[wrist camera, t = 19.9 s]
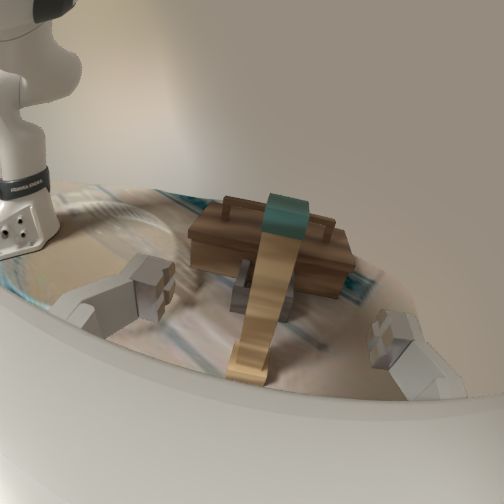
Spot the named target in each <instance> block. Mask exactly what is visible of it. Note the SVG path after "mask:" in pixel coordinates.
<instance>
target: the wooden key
mask: <svg viewBox="0 0 504 504" xmlns="http://www.w3.org/2000/svg"><path fill="white" fill-rule="evenodd" d="M309 217H310V214H309V203H308V201H303V200H299V199H295V198H290V197H286V196H282V195H277V194H272V193H270V195H269V198H268V201H267V204H266V207H265V212H264V217H263V222H262V228H261V231H262V235H261V240H260V245H259V250H258V255H257V260H256V265H255V270H254V275H253V280H252V285H251V290H250V295H249V300H248V305H247V310H246V314H245V319H244V324H243V329H242V334H241V339H240V342H239V341H235V343H234V347H233V350H232V354H231V357H230V361H229V364H228V368H227V373H226V378H227V379H231V380H235V381H240V382H244V383H249V384H253V385H258V386H264V383H265V381H266V378H267V372H268V366H269V360H270V353H271V348H269V346H270V343H271V340H272V337H273V334H274V331H275V328H276V325H277V321H278V318H279V315H280V312H281V309H282V305H283V302H284V299H285V296H286V292H287V289H288V286H289V282H290V279H291V276H292V272H293V269H294V265H295V262H296V258H297V255H298V251H299V248H300V244H301V241H303V239H304V236H305V232H306V228H307V225H308V221H309Z"/></svg>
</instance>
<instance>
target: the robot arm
mask: <svg viewBox="0 0 504 504" xmlns="http://www.w3.org/2000/svg"><path fill="white" fill-rule="evenodd" d="M77 1H78V0H0V165H1V173H2V178H1V179H0V260H2V259H6V258H10V257H13V256H17V255H21V254H25V253H29V252H33V251H37V250H40V249H41V248H42V247H43V246H44V244H45V243H46V241H47V240H49V239H50V238H51V237H52V236H54V235H55V234H56V233H57V231H58V230H59V228H60V222H59V220H58V218H57V216H56V213H55V211H54V208H53V204H52V200H51V196H50V176H49V170H48V167H47V165H46V148H45V134H44V132H43V130H42V129H41V128H40V127H39V126H37V125H35V124H33V123H30V122H26V121H24V120H22V118H21V116H20V112H19V110H20V109H21V108H23V107H28V106H32V105H38V104H43V103H49V102H52V101H54V100H58V99H61V98H63V97H66V96H69V95H70V94H71V93H72V92H73V91H74V90H75V88H76V87H77V85H78V83H79V81H80V78H81V73H82V66H81V62H80V59H79V58H78V56H77V55H76V54H75V53H73V52H70V51H67V50H65V49H64V48H62V47H61V46H59V45H58V44H57V42H56V41H55V40H54V38H53V36H52V19H56V18H59V17H61V16H63V15H64V14H65V13H66V12H68V11H69V10H70V9H72V8H73V7H74V6H75V4H76V2H77ZM174 273H175V264H174V262H171V261H167V260H164V259H160V258H157V257H153V256H149V255H146V254H142V253H137V254H136V255H135V256H134V257H133V258H132V259H131V261H130V262H129V263H128V264H127V265H126V266H125V267H124V269H123V270H122V271H121V272H120V273H119V274H118V275H115V274H114V275H111V276H109V277H106V278H103V279H100V280H98V281H95V282H92V283H90V284H87V285H84V286H81V287H79V288H76V289H73V290H71V291H68V292H65V293H64V294H63V295H62V296H61V297H60V298H59V299H58V300H57V301H56V303H55V304H54V305H53V306H52V307H51V308H50V309H49V310H48V312H46V311H44V310H42V309H40V308H39V307H37V306H35V305H33V304H31V303H30V302H28V301H26V300H24V299H23V298H21V297H19V296H18V295H16V294H14V293H13V292H11V291H9V290H8V289H6V288H5V287H3V286H2V285H0V504H504V393H501V394H495V395H488V396H481V397H472V398H468V397H467V393H466V391H465V387H464V384H463V381H462V378H461V376H460V375H459V374H458V373H457V372H456V371H455V370H454V369H453V368H452V367H451V366H450V365H449V364H448V363H447V361H446V360H445V359H444V358H443V357H442V356H441V355H440V354H439V353H438V352H437V351H436V350H435V349H434V348H433V347H432V346H431V345H430V344H429V343H428V342H425V340H424V337H423V335H422V332H421V329H420V327H419V324H418V322H417V319H416V317H415V315H414V314H410V313H401V312H395V311H390V310H384V309H382V310H381V311H380V312H379V313H378V315H377V320H378V321H376V322H375V323H373V324H372V325H371V327H370V328H369V330H368V334H367V346H368V348H369V349H370V350H371V353H370V354H369V358H370V363H371V368H376V369H384V370H389V373H390V374H391V376H392V377H393V379H394V380H395V382H396V383H397V385H398V386H399V388H400V389H401V391H402V392H403V394H404V395H405V397H406V398H407V400H408V401H380V400H361V399H347V398H336V397H326V396H318V395H310V394H303V393H296V392H289V391H283V390H278V389H272V388H267V387H261V386H256V385H251V384H247V383H242V382H238V381H233V380H229V379H225V378H221V377H217V376H213V375H209V374H205V373H202V372H198V371H194V370H191V369H188V368H184V367H181V366H178V365H174V364H171V363H168V362H165V361H162V360H159V359H156V358H153V357H150V356H147V355H144V354H142V353H139V352H136V351H133V350H131V349H128V348H125V347H123V346H120V345H118V344H115V343H113V342H110V341H108V340H105V338H107V337H109V336H110V335H112V334H113V333H115V332H117V331H118V330H120V329H122V328H123V327H125V326H127V325H128V324H130V323H132V322H133V321H135V320H137V319H138V317H139V318H142V319H145V320H149V321H152V322H155V323H159V321H160V319H161V318H162V316H163V314H164V312H165V306H166V305H168V304H169V303H170V301H171V300H172V297H173V294H174V290H175V280H174V278H173V277H172V276H173V274H174Z"/></svg>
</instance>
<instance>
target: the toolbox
mask: <svg viewBox="0 0 504 504" xmlns="http://www.w3.org/2000/svg"><path fill="white" fill-rule="evenodd" d="M231 205H232V206H231ZM236 206H237V207H236ZM241 207H242V208H241ZM265 207H266V204H265V203H260V202H255V201H250V200H245V199H240V198H235V197H229V196H225V197H224V199H223V204H220V203H215V202H210V203H209V205H208V206H207V207H206V208H205V209H204V211H203V212H202V213H201V214H200V216H199V217H198V218H197V219H196V221H195V222H194V223H193V224H192V226H191V227H190V228H189V229H188V238H190V239H192V242H191V263H190V268H195V269H199V270H203V271H207V272H212V273H216V274H221V275H225V276H230V277H234V278H237V279H236V282H235V285H234V288H233V293H232V299H231V306H230V311H232V312H236V313H240V314H246V310H247V305H248V300H249V295H250V290H251V289H250V288H246V287H245V285H246V282H247V280H248V281H252V280H253V275H254V270H255V265H256V260H257V255H258V250H259V245H260V240H261V235H262V231H261V228H262V222H263V217H264V212H265ZM246 208H247V209H246ZM251 209H252V210H251ZM256 210H257V211H256ZM309 214H310V217H309V221H308V225H307V228H306V232H305V236H304V239H303V241H301V244H300V248H299V251H298V255H297V258H296V262H295V265H294V269H293V272H292V276H291V279H290V282H289V286H288V289H287V292H286V296H285V299H284V302H283V305H282V309H281V312H280V315H279V318H278V322H283V323H286V322H287V319H288V316H289V313H290V311H291V308H292V305H293V292H294V290H295V291H300V292H305V293H310V294H315V295H320V296H325V297H330V298H335V299H338V296H339V294H340V292H341V289H342V287H343V285H344V282H345V280H346V277H347V275H348V273H353V271H354V268H355V266H356V265H355V262H354V259H353V256H352V253H351V249H350V247H349V244H348V241H347V237H346V235H345V231H344V230H341V229H337V228H334V227H335V224H336V221H335V219H332V218H328V217H324V216H319V215H315V214H311V213H309ZM311 222H312V223H311ZM320 224H321V225H320ZM324 225H325V226H324Z"/></svg>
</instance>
